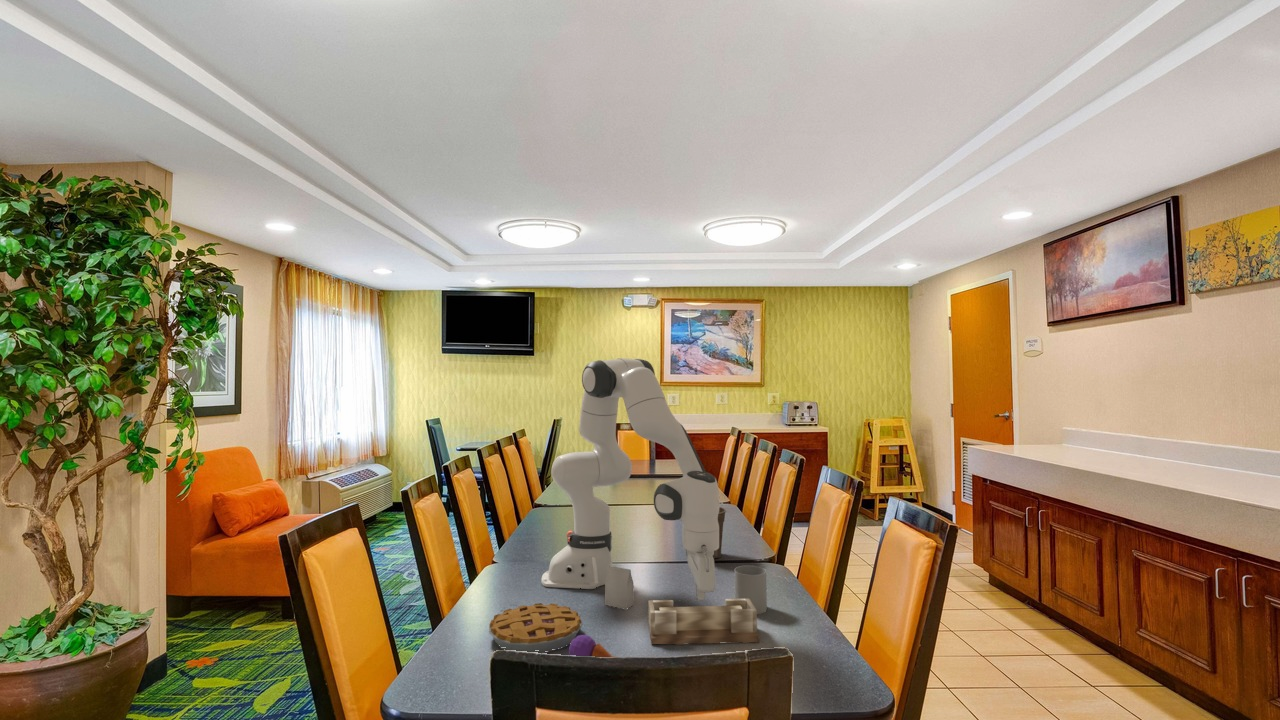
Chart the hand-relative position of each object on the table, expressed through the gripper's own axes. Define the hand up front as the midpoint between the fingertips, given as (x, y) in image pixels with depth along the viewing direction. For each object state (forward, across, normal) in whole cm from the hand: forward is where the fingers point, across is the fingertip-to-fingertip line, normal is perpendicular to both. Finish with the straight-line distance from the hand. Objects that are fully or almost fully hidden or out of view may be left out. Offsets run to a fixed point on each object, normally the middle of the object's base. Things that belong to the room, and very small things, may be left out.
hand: (700, 597), depth 143 cm
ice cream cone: (+8, -18, +21) cm, 29 cm away
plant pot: (+10, +63, -11) cm, 65 cm away
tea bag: (+9, +18, +19) cm, 28 cm away
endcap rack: (+8, -1, 0) cm, 8 cm away
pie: (+9, 0, +39) cm, 40 cm away
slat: (+7, 0, 0) cm, 7 cm away
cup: (+8, +14, -16) cm, 23 cm away
